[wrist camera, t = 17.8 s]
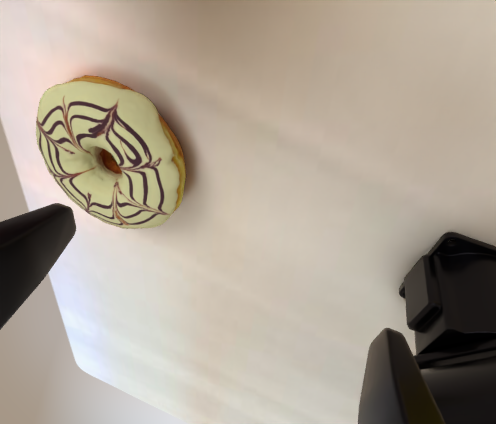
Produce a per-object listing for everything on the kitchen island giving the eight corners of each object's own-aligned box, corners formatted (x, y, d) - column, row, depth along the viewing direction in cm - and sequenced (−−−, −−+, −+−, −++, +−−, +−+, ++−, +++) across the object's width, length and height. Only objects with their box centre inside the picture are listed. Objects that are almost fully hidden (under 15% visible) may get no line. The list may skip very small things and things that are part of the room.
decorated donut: (162, 55, 20) (126, 75, 17) (214, 206, 26) (194, 239, 23) (36, 82, 24) (-11, 101, 21) (107, 207, 30) (78, 236, 27)
